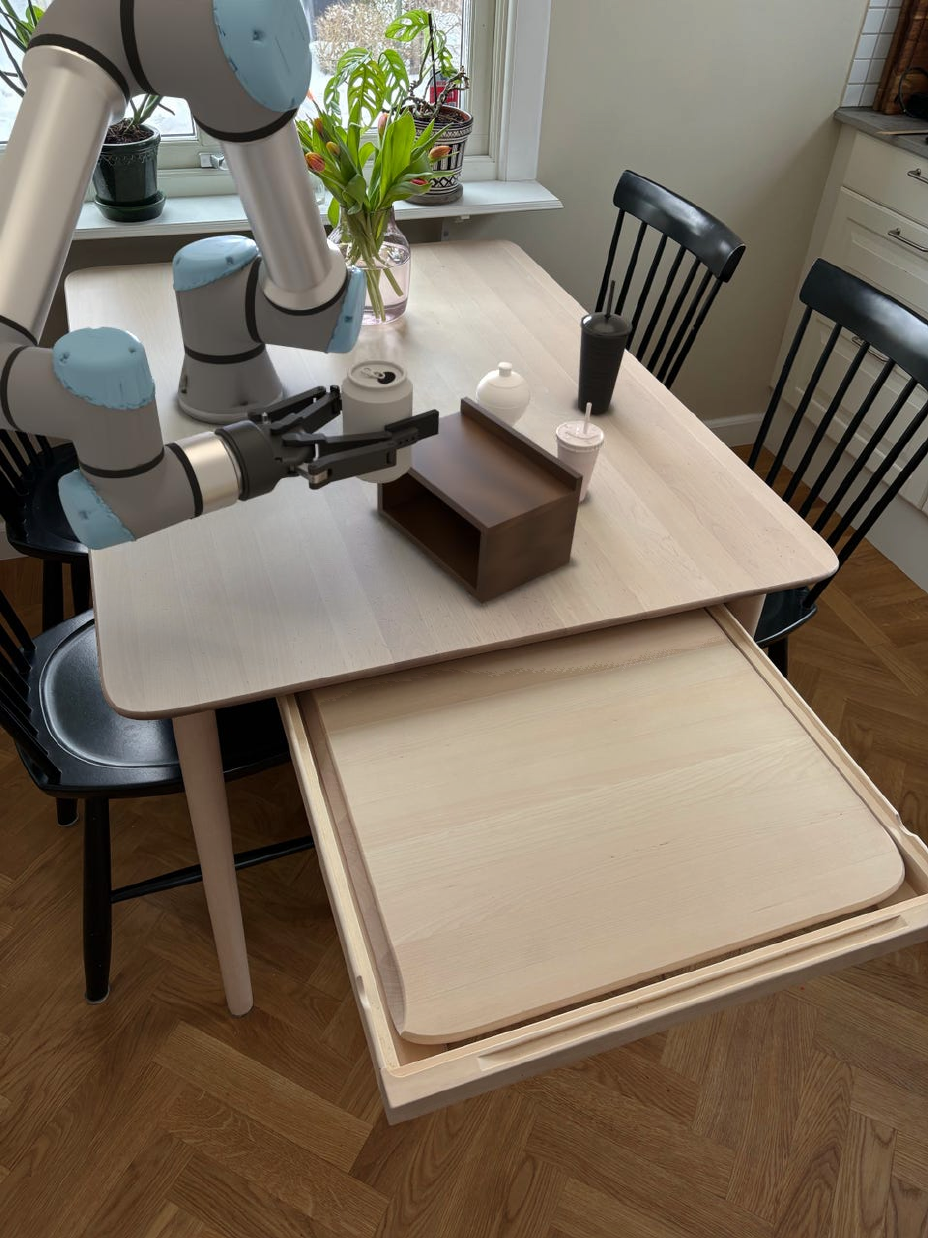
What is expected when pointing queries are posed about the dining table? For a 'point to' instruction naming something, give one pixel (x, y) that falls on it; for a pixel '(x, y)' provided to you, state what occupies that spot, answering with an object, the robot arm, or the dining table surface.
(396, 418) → the can
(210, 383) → the robot arm
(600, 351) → the drinking cup
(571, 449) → the smoothie
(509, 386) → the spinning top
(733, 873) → the dining table surface
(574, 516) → the shelf
